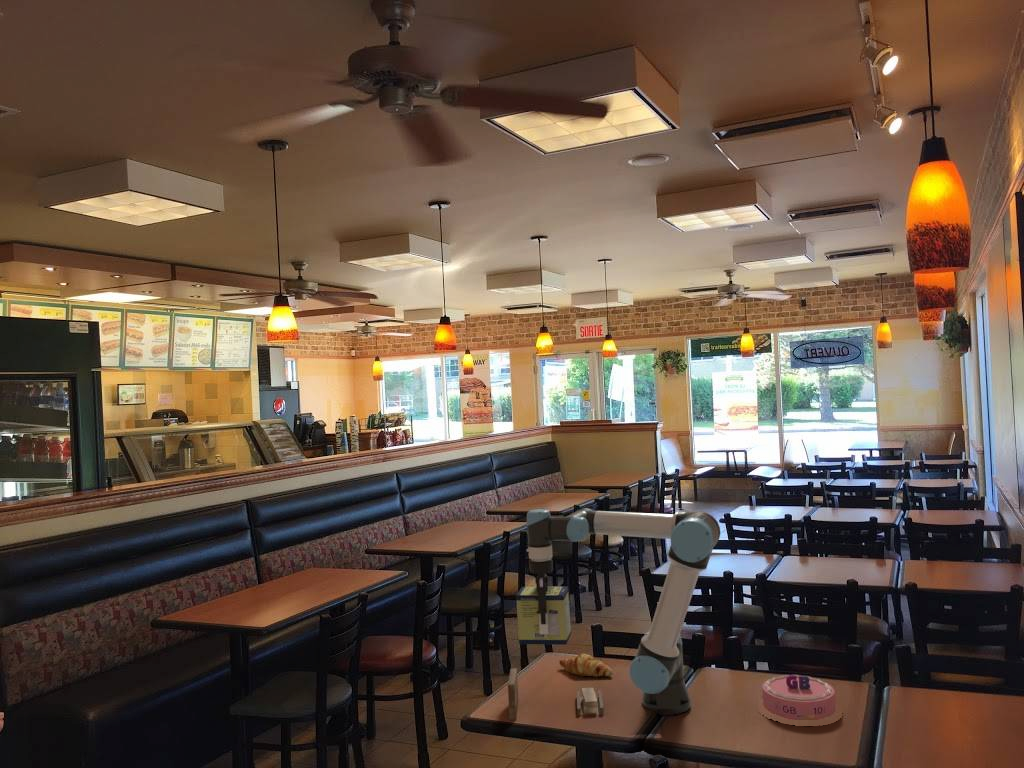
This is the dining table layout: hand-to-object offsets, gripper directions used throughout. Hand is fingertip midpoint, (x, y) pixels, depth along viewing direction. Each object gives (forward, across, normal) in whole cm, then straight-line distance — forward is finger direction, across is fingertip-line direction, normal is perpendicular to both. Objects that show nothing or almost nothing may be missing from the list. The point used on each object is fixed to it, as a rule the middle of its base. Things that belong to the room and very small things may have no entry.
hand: (544, 628), depth 252 cm
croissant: (+26, -31, +12) cm, 42 cm away
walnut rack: (+26, 0, +3) cm, 26 cm away
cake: (+27, +5, +76) cm, 81 cm away
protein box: (+4, 0, 0) cm, 4 cm away
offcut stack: (+25, 0, +13) cm, 28 cm away
